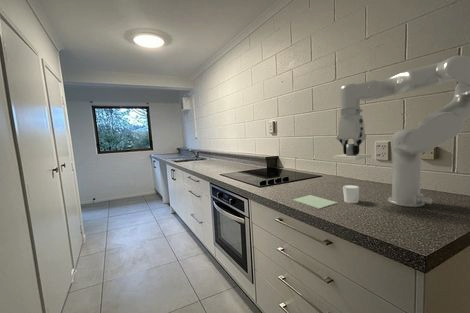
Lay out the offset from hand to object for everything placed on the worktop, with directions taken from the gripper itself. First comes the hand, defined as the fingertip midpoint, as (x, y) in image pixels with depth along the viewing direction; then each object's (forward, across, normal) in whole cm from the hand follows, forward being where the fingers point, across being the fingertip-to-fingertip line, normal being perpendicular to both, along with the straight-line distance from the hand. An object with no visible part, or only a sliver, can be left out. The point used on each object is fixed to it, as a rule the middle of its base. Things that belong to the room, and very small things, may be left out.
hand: (351, 153), depth 99 cm
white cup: (+22, 0, 0) cm, 22 cm away
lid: (+2, 0, 0) cm, 2 cm away
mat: (+22, +10, +13) cm, 28 cm away
